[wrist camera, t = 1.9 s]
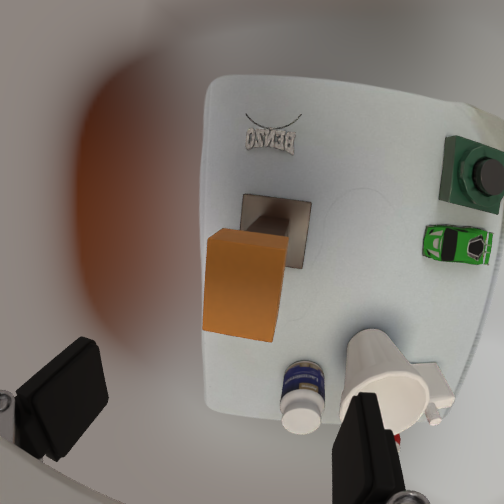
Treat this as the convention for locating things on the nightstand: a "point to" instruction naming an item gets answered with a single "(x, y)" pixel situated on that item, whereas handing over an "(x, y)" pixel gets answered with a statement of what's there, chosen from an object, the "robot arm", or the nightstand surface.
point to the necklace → (270, 138)
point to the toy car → (457, 244)
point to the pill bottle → (302, 397)
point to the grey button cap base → (467, 174)
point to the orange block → (243, 283)
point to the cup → (384, 380)
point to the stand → (278, 222)
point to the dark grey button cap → (489, 176)
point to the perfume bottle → (435, 390)
